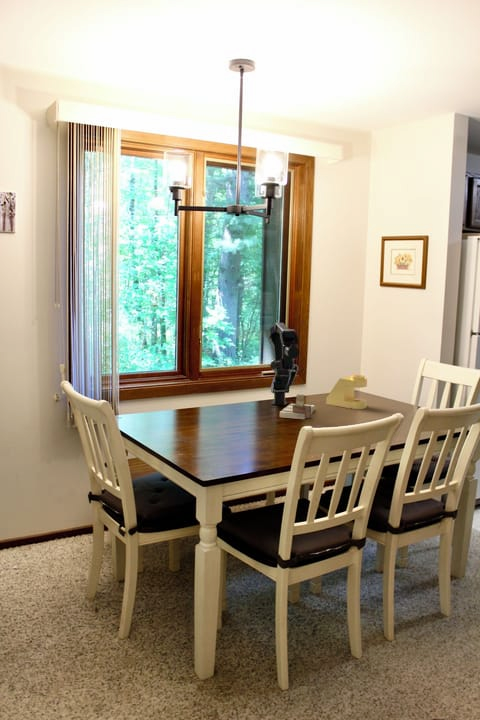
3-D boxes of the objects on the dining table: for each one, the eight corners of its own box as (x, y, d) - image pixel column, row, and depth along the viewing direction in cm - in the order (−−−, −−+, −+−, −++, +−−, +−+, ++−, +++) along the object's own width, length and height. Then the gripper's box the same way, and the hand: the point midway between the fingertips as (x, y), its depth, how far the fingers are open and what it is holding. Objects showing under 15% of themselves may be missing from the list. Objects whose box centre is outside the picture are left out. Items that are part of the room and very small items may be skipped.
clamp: (369, 407, 337) (370, 376, 335) (359, 410, 330) (360, 378, 328) (336, 401, 350) (337, 371, 348) (326, 404, 343) (327, 373, 341)
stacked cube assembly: (294, 414, 317) (295, 393, 316) (311, 415, 315) (311, 394, 313) (291, 416, 313) (292, 395, 311) (308, 417, 310) (309, 396, 309)
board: (290, 408, 333) (291, 403, 332) (314, 410, 329) (314, 405, 328) (279, 417, 314) (279, 411, 314) (304, 419, 310) (304, 414, 310)
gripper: (277, 352, 333) (277, 382, 336) (266, 357, 316) (266, 389, 318) (299, 353, 330) (298, 384, 332) (289, 358, 312) (288, 391, 315)
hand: (287, 387), depth 324 cm, fingers open, 9 cm apart
